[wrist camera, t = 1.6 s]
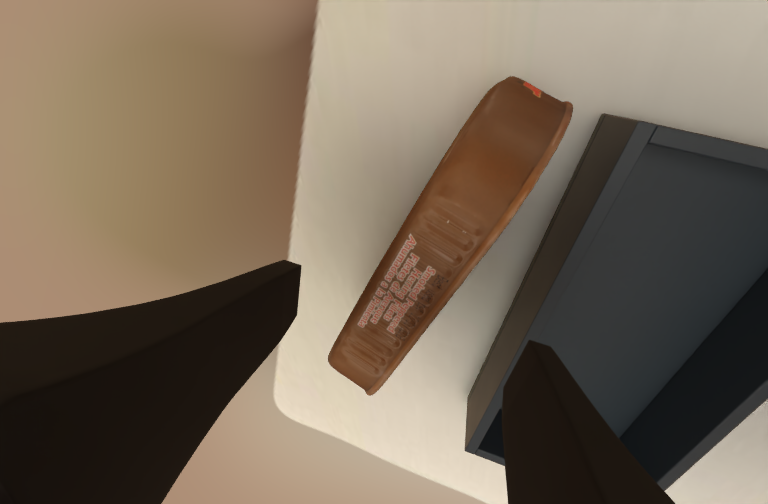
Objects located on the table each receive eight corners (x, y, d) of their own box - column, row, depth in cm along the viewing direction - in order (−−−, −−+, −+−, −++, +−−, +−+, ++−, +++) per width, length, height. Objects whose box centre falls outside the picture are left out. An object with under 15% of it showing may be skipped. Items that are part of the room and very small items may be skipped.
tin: (400, 324, 22) (358, 439, 15) (359, 300, 22) (298, 402, 15) (556, 104, 15) (626, 117, 8) (495, 68, 15) (504, 47, 8)
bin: (859, 170, 13) (993, 199, 10) (612, 449, 22) (636, 517, 19) (602, 113, 15) (639, 120, 11) (467, 397, 23) (464, 451, 20)
